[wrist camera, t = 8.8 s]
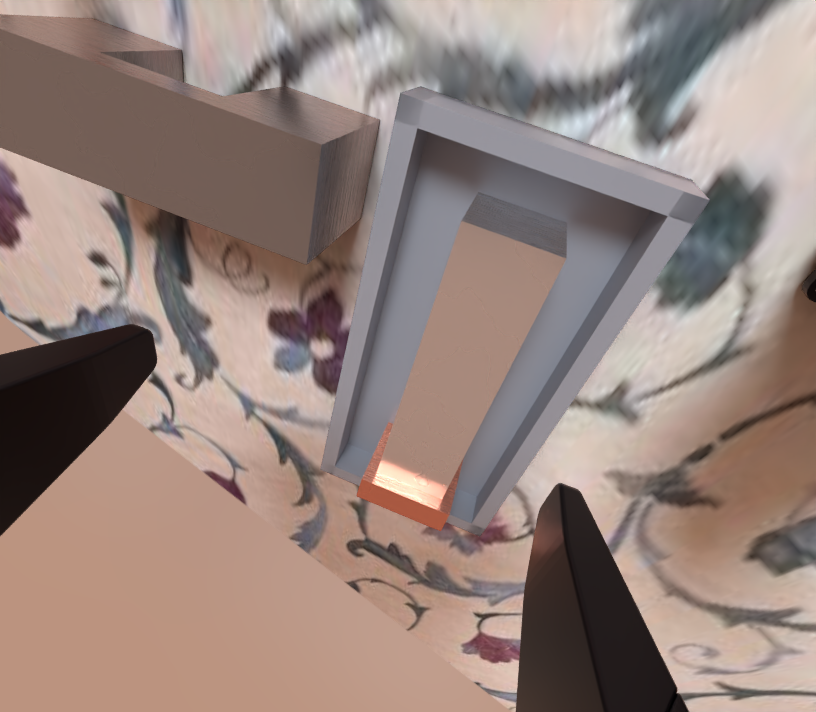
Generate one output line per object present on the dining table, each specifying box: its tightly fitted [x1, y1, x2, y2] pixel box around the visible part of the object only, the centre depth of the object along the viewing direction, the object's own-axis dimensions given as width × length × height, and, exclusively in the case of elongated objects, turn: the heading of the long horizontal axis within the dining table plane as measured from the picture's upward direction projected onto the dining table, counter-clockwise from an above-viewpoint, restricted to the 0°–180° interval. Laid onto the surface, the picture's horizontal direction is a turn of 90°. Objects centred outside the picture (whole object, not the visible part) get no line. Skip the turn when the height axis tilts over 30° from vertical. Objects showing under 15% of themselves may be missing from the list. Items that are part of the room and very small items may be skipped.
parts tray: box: [320, 87, 710, 536], centre depth 21 cm, size 10×20×2 cm, turn 165°
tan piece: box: [357, 192, 567, 531], centre depth 20 cm, size 15×5×4 cm, turn 165°
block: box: [0, 14, 380, 265], centre depth 17 cm, size 12×4×5 cm, turn 75°
